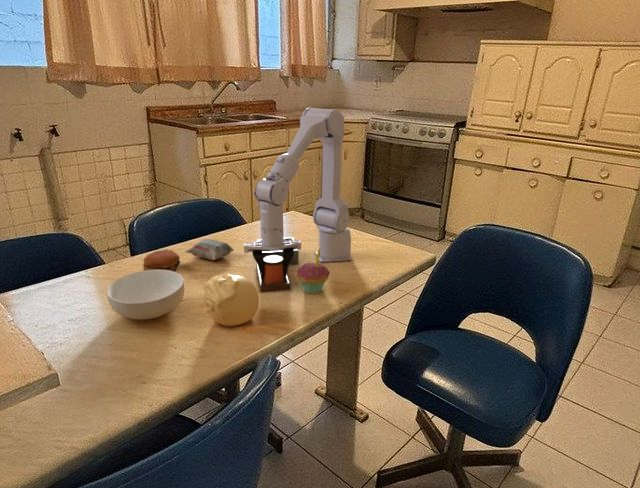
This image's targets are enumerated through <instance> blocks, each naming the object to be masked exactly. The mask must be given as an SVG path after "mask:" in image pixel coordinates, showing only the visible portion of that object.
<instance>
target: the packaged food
mask: <svg viewBox="0 0 640 488" xmlns="http://www.w3.org/2000/svg"><path fill="white" fill-rule="evenodd" d="M234 251H235V249H234V248H233V246H231V245H230V244H228V243H227V242H224V241H220V240H216V239H212V238H204V239H202V240H200V241H198V242H197V243H195V244H194V245H193V246H192V247H190V248H189V249H187V250H185V251H184V252H185V253H188V254H191V255H192V256H194V257H197V258H198V257H199V258H203V259H206V260H210V261H215V260H219V259H221V258H223V257H224V256H227V255H229V254H230V253H231V252H234Z"/></svg>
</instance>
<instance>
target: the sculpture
mask: <svg viewBox="0 0 640 488" xmlns="http://www.w3.org/2000/svg"><path fill="white" fill-rule="evenodd" d="M203 290H204V295H203V300H204V305H205V307H206V313H207V314H208V316H209V318H210V319H212V320H213V321H214V323H218V324H219V325H222V326H223V327H224V326H225V327H234V326H239V325H242V324H245V323H248V322H250V320H252V319H253V318H254V317H255V316H256V315H257V313H258V309H259V306H260V296H259V292H258V289H257V287H256V285H255V284H254V283H253V282H252V280H250V279H249V278H248V277H245V276H243V275H239V274H231V273H229V272H226V273H224V274H219V275H214V276H212V277H210V279H209V280H207V281H205V283H204V285H203Z"/></svg>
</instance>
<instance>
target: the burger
mask: <svg viewBox="0 0 640 488" xmlns="http://www.w3.org/2000/svg"><path fill="white" fill-rule="evenodd" d="M180 259H181V256H180V254H178V253H177V252H175V251H174V250H172V249H161V250H156V251H153V252H150V253H148V254H147V255H146V256H145V257H144V259H143V271H146V270H169V271H174V270H175V269H177V268H178V267H179V265H180V264H181V261H180Z"/></svg>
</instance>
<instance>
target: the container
mask: <svg viewBox="0 0 640 488" xmlns="http://www.w3.org/2000/svg"><path fill="white" fill-rule="evenodd" d="M263 268H264V284H275V283H284V269H283V257H281V256H278V255H270V256H266V257H264V258H263Z"/></svg>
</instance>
